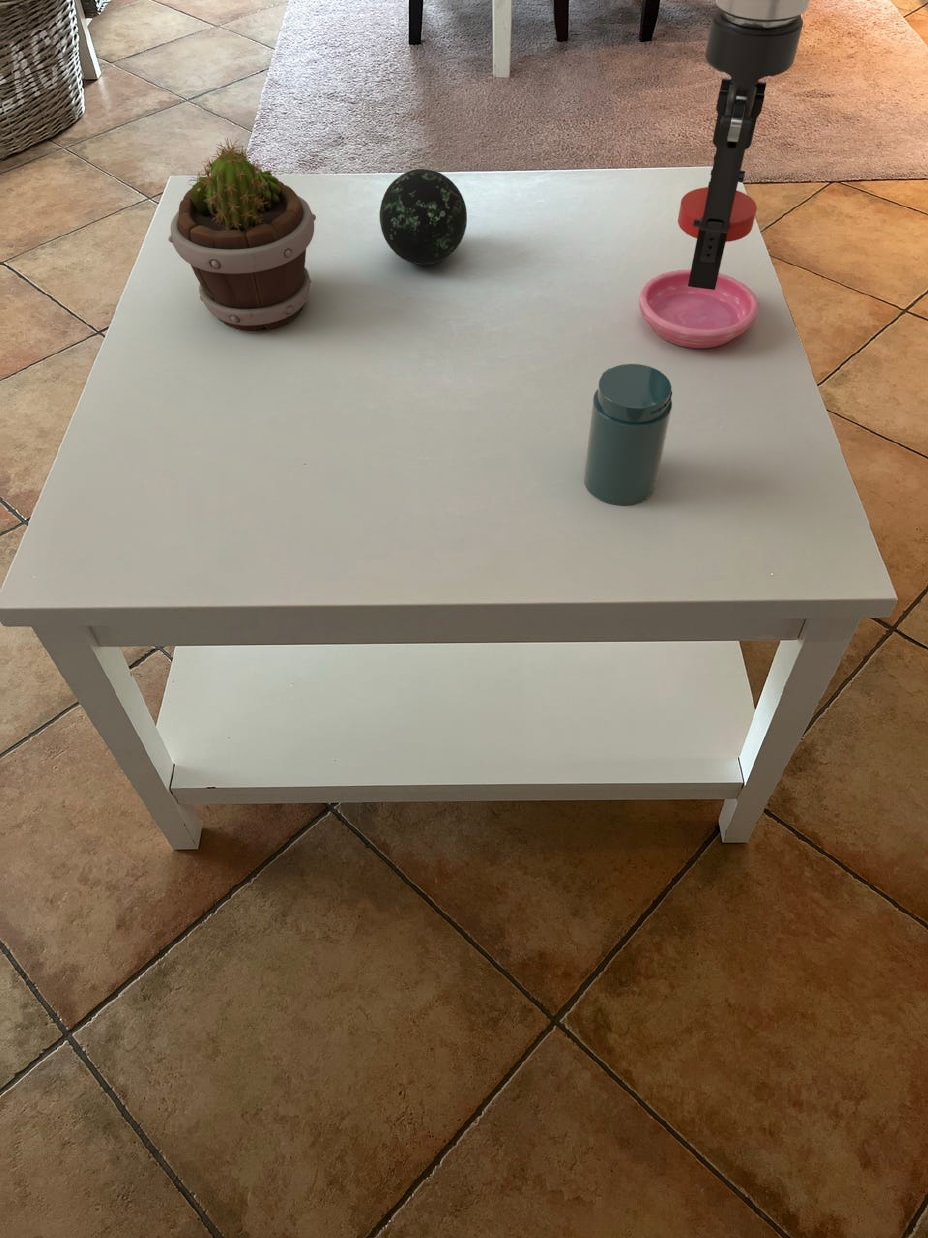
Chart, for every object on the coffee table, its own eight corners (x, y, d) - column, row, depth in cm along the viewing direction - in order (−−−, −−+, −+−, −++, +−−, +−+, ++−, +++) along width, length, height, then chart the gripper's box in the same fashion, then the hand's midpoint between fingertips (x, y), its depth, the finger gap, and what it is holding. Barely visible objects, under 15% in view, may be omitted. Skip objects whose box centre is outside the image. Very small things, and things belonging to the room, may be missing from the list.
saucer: (644, 286, 104) (648, 260, 102) (755, 300, 102) (762, 274, 100) (628, 349, 97) (632, 323, 94) (748, 365, 95) (755, 339, 92)
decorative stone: (482, 266, 107) (482, 181, 100) (406, 290, 104) (400, 204, 97) (443, 228, 113) (440, 145, 105) (369, 250, 110) (361, 165, 102)
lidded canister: (670, 480, 84) (691, 384, 76) (625, 516, 81) (641, 421, 73) (614, 446, 87) (629, 351, 79) (569, 480, 84) (578, 385, 76)
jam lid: (662, 223, 91) (665, 204, 89) (706, 197, 94) (709, 178, 92) (723, 250, 87) (727, 231, 86) (767, 222, 90) (771, 203, 89)
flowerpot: (192, 279, 106) (142, 94, 91) (323, 265, 108) (297, 82, 92) (189, 352, 97) (133, 161, 82) (332, 336, 99) (305, 146, 83)
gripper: (724, -32, 83) (680, 213, 101) (700, 53, 71) (656, 314, 89) (809, -26, 82) (750, 221, 100) (800, 62, 70) (734, 325, 87)
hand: (705, 265), depth 94 cm, fingers closed on jam lid, 7 cm apart
